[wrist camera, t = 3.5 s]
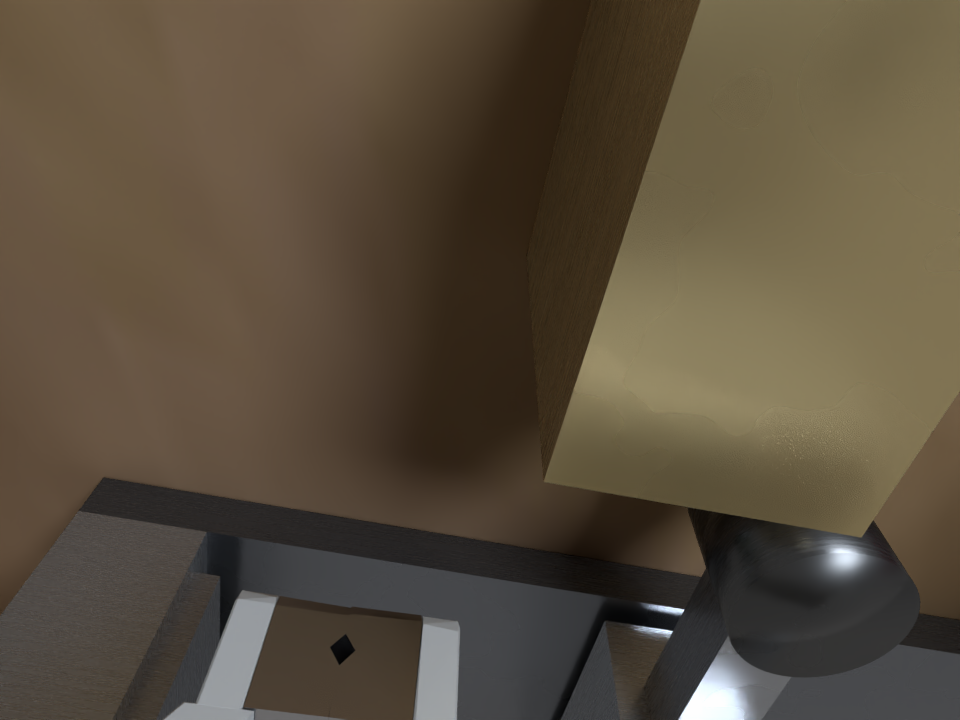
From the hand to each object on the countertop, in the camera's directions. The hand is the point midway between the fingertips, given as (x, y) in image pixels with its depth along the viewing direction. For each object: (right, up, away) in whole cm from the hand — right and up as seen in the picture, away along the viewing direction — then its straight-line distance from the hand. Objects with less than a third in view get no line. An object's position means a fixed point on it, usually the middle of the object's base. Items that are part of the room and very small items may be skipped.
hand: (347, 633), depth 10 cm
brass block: (+5, +9, +3) cm, 11 cm away
